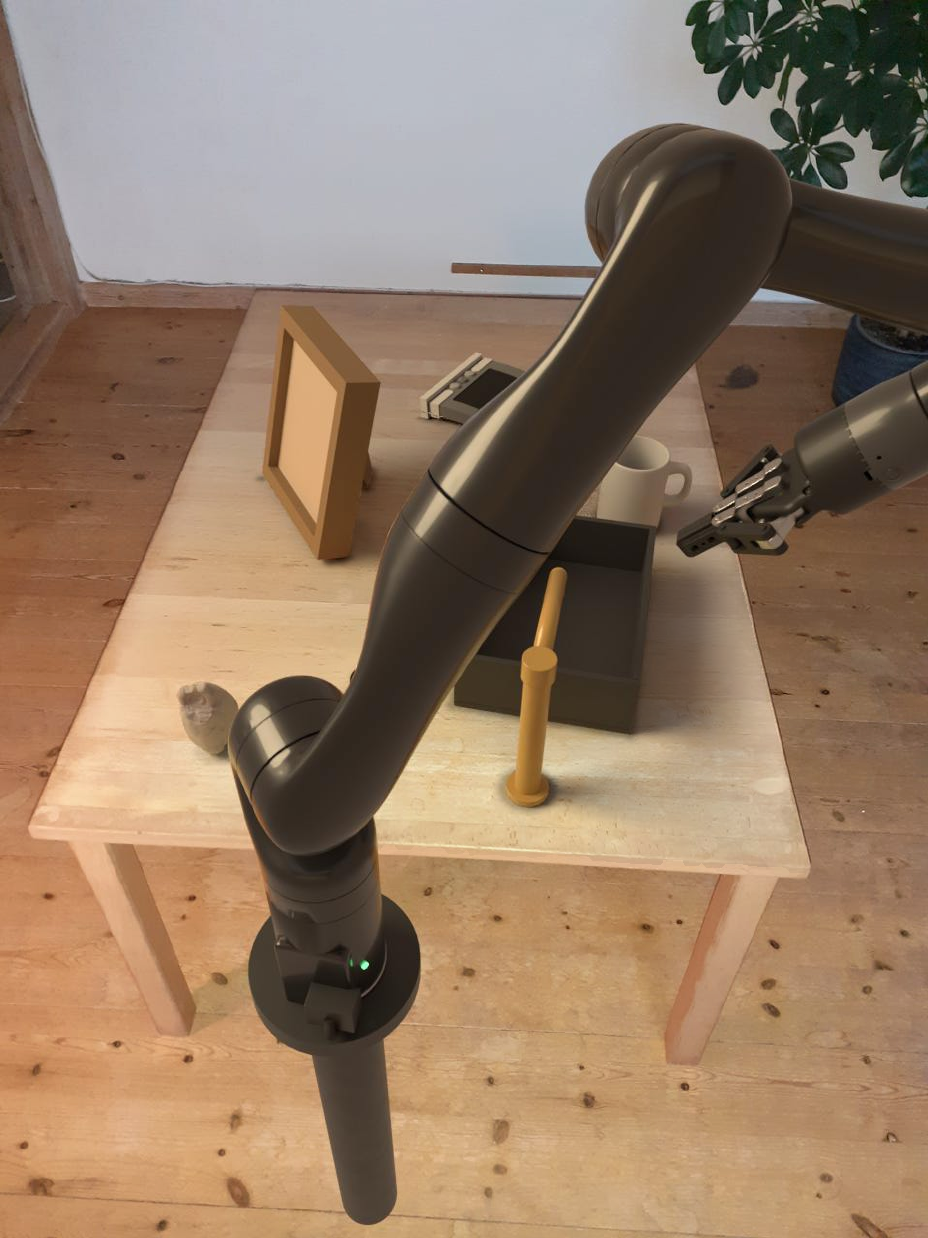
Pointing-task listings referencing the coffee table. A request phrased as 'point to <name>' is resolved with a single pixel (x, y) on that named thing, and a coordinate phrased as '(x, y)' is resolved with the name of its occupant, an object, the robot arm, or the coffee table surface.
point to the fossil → (207, 715)
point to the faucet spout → (545, 636)
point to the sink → (576, 630)
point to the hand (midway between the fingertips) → (682, 545)
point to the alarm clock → (468, 388)
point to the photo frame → (319, 430)
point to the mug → (641, 483)
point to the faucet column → (530, 750)
